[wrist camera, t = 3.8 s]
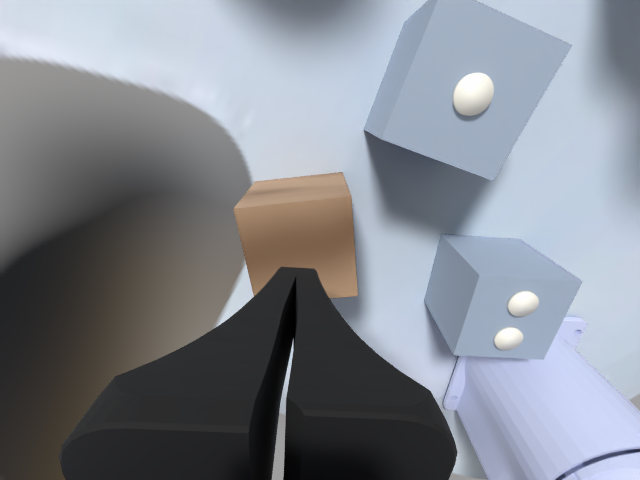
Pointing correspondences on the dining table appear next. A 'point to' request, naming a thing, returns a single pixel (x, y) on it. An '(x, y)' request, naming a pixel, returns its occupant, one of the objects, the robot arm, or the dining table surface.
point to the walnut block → (300, 230)
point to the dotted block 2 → (497, 297)
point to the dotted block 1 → (464, 84)
